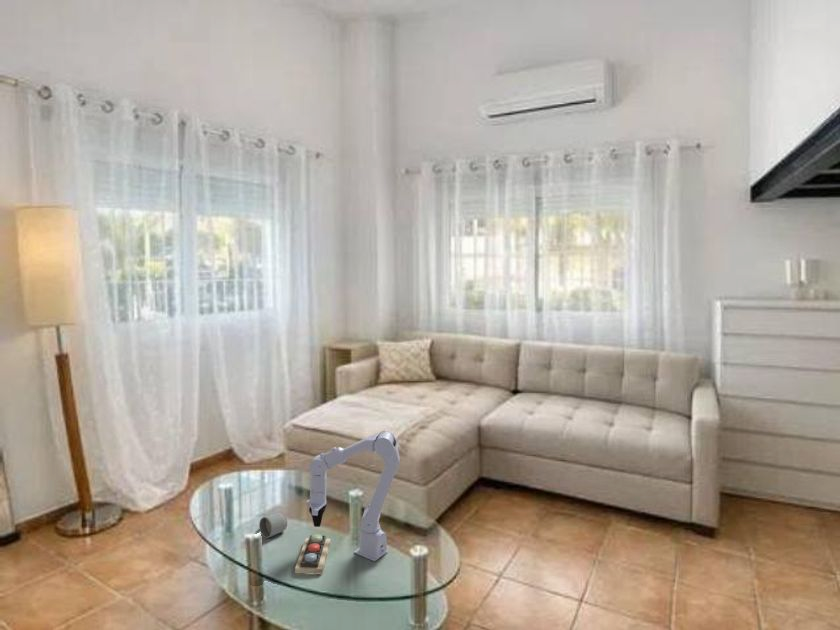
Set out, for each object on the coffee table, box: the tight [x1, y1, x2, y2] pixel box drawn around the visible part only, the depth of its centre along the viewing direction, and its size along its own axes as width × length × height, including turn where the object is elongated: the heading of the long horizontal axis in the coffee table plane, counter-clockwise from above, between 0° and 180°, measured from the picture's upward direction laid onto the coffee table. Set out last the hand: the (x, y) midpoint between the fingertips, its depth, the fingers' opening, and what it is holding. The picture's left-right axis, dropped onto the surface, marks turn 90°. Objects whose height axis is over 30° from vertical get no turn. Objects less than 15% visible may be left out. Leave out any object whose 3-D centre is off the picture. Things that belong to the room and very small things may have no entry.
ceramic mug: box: [258, 512, 288, 539], centre depth 201 cm, size 11×8×8 cm
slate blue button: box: [305, 553, 317, 563], centre depth 178 cm, size 4×4×2 cm
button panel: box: [294, 534, 331, 575], centre depth 185 cm, size 20×9×3 cm, turn 2°
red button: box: [308, 543, 320, 552], centre depth 185 cm, size 4×4×2 cm
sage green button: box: [311, 533, 323, 543], centre depth 191 cm, size 4×4×2 cm
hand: (317, 525), depth 191 cm, fingers closed
